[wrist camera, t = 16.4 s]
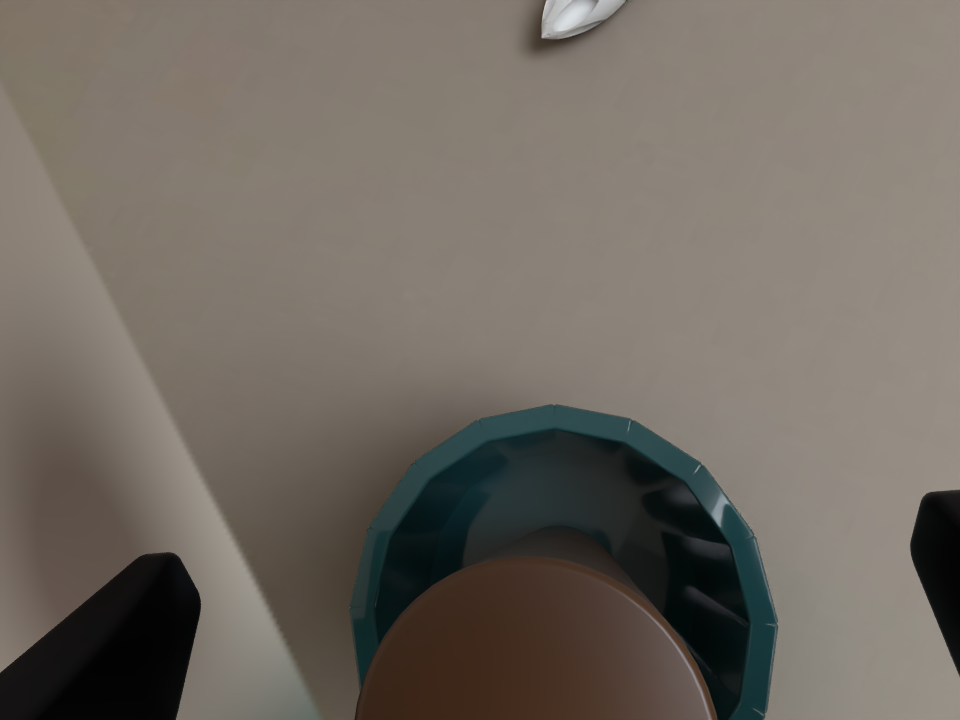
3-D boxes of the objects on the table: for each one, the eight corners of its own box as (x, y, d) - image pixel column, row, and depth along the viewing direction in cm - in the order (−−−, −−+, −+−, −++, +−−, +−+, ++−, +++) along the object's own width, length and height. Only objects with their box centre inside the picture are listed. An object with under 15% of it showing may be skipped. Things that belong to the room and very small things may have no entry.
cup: (685, 779, 17) (742, 913, 12) (389, 697, 19) (307, 780, 13) (730, 470, 19) (801, 451, 13) (452, 414, 20) (403, 374, 14)
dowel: (643, 592, 18) (811, 781, 5) (557, 672, 18) (516, 1062, 5) (563, 502, 19) (543, 481, 6) (480, 578, 18) (279, 721, 6)
